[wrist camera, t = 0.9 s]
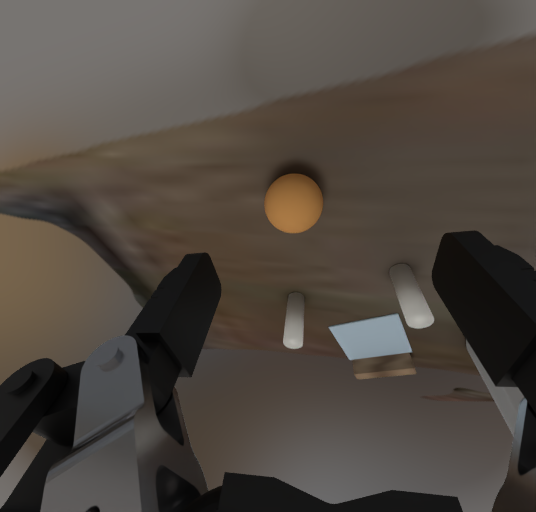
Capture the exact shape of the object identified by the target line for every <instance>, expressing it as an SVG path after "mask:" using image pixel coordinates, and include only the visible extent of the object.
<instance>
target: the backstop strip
mask: <svg viewBox="0 0 536 512" xmlns="http://www.w3.org/2000/svg"><path fill="white" fill-rule="evenodd" d="M352 361H353V369H354V375H355V376H356V378H357V379H366V378H378V377H388V376H399V375H409V374H416V370H415V367H414V364H413V361H412V358H411V355H410V353H401V354H393V355H386V356H378V357H370V358H362V359H354V360H352Z"/></svg>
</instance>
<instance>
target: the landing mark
mask: <svg viewBox="0 0 536 512" xmlns="http://www.w3.org/2000/svg"><path fill="white" fill-rule="evenodd" d="M329 329H330V330H331V332H332V333H333V335H334V336H335V338H336V340H337V341H338V343H339V344H340V346H341V347H342V349H343V350H344V352H345V354H346V355H347V357H348V358H349V360H354V359H362V358H370V357H378V356H386V355H393V354H401V353H409V352H412V349H411V347H410V344H409V342H408V339H407V336H406V334H405V331H404V328H403V326H402V323H401V321H400V318H399V315H398V313H395V314H390V315H385V316H380V317H375V318H370V319H364V320H359V321H354V322H349V323H344V324H339V325H333V326H329Z"/></svg>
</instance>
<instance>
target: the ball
mask: <svg viewBox="0 0 536 512" xmlns="http://www.w3.org/2000/svg"><path fill="white" fill-rule="evenodd" d="M264 205H265V212H266V215H267V217H268V219H269V221H270V222H271V223H272V224H273V225H274V226H275V227H276V228H277V229H279V230H281V231H283V232H287V233H299V232H303V231H305V230H307V229H309V228H310V227H312V226H313V225H314V224H315V223H316V222H317V220H318V219H319V217H320V215H321V212H322V209H323V197H322V193H321V190H320V188H319V187H318V185H317V184H316V183H315V182H314V181H313V180H312V179H311V178H309V177H307V176H305V175H302V174H296V173H293V174H287V175H284V176H281V177H280V178H278V179H277V180H275V181H274V182H273V183H272V184H271V186H270V187H269V189H268V191H267V193H266V196H265V202H264Z"/></svg>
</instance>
